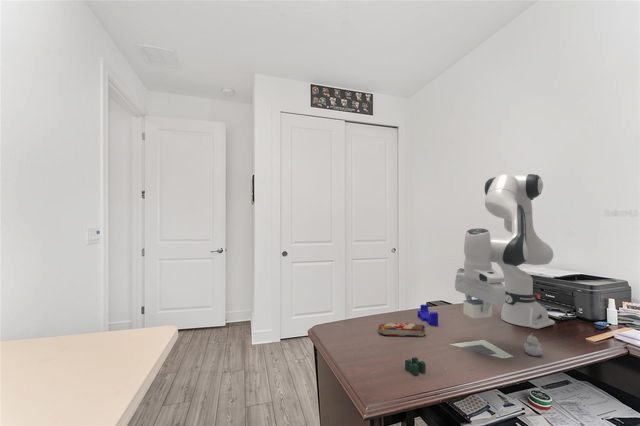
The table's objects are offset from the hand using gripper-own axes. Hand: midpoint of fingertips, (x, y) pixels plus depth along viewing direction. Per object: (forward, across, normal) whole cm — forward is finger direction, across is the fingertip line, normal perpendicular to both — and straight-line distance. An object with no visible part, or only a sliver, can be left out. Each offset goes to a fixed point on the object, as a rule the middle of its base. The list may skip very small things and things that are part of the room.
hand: (477, 309), depth 100 cm
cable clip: (+16, -30, -1) cm, 34 cm away
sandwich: (+16, -19, -20) cm, 32 cm away
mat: (+16, 0, 0) cm, 16 cm away
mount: (+16, +8, -31) cm, 36 cm away
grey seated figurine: (+16, +6, +18) cm, 25 cm away
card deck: (+2, 0, 0) cm, 2 cm away
